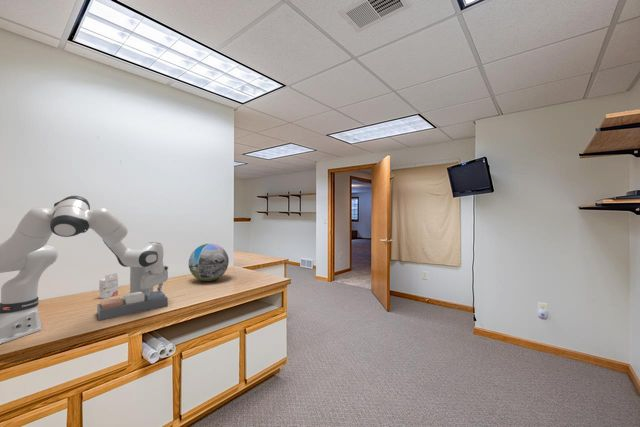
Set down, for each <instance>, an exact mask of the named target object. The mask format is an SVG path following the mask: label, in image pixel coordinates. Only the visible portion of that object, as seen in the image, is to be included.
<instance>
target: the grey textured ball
mask: <svg viewBox="0 0 640 427" xmlns="http://www.w3.org/2000/svg"><path fill="white" fill-rule="evenodd" d="M229 260H230V259H229V255H228V252H227V251H226V250H225V249H224V248H223V247H222V246H220V245H218V244H215V243H205V244H202V245H200V246H198V247H196V248H195V249H194V250H193V251H192V252H191V254H190V256H189V259H188V269H189V271H190V273H191V275H192V276H193V277H194V278H196V279H197V280H200V281H202V282H203V281H204V282H211V281H216V280H217V279H219V278H221V277H222V276H223V275H224V274H225V273H226V271H227V270H228V266H229V262H230V261H229Z"/></svg>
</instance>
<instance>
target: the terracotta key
mask: <svg viewBox="0 0 640 427" xmlns="http://www.w3.org/2000/svg"><path fill="white" fill-rule="evenodd" d="M122 300H123V299H121V297H116V298H115V297H114V298H111V299H109V298H108V299H105V300H100V304H101V305H100V307H101V309H106V308H111V307H116V306H121V305H122Z"/></svg>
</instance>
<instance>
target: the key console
mask: <svg viewBox="0 0 640 427" xmlns="http://www.w3.org/2000/svg"><path fill="white" fill-rule="evenodd" d="M168 298H169V297H167V295H165V294H164V297H163V298H158V299H153V300H148V301H147V300H146V299H145V296H144V301H142V302H137V303H132V304H127V305H125V303H124V299H121V300H122V305H121V306H116V307H111V308H106V309H101V307H100V305H101V303H97V306H96V307H97V310H96V311H97V312H96V313H97V317H98V320H99V321H103V320H109V319H113V318H117V317H118V318H119V317H123V316H127V315H132V314H136V313H137V314H138V313H141V312H147V311H150V310H155V309H161V308H165V307H168V303H169V302H168V301H169V299H168Z"/></svg>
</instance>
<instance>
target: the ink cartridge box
mask: <svg viewBox="0 0 640 427" xmlns="http://www.w3.org/2000/svg"><path fill="white" fill-rule="evenodd" d="M118 280H119V279H118V272H115V273H111V274H106V275H105V276H104V278H102V279H99V287H98V288H99V291H98V292H99V299H105V300H107V299H109V298H112V297H115V296H118V294H119V291H118V289H119V288H118V287H119V285H118V284H119V282H118Z"/></svg>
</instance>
